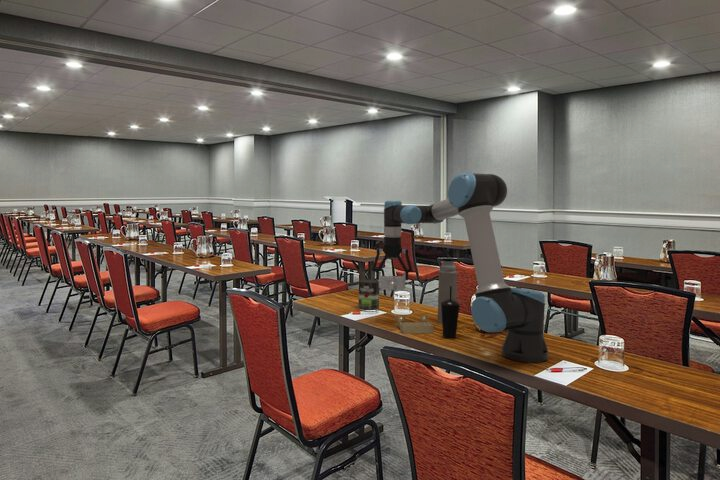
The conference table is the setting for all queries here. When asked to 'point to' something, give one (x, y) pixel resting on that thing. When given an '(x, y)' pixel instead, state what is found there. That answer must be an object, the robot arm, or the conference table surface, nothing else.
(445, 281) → the thermos bottle
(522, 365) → the conference table surface
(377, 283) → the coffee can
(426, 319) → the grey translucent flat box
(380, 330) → the conference table surface
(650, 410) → the conference table surface
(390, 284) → the grey mechanical part
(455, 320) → the drinking cup
